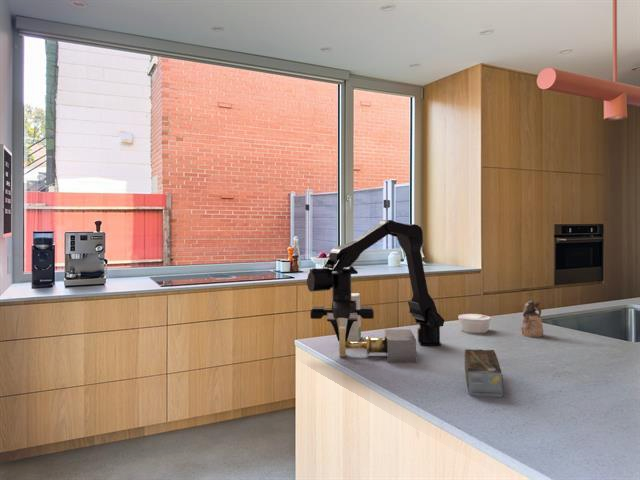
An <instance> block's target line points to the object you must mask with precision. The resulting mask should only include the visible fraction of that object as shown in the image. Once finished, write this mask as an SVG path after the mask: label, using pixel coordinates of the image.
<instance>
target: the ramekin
mask: <svg viewBox="0 0 640 480" xmlns="http://www.w3.org/2000/svg"><path fill="white" fill-rule="evenodd" d="M457 318H458V323H459V329H460V330H461V331H462V332H464V333H469V334H485V333H487V332H488V331H489V329H490V328H489V327H490V324H491V323H490V321H491V320H492V318H491V317H490V316H489V315H485V314H481V313H463V314H459V315H458V317H457Z"/></svg>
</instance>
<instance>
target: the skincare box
mask: <svg viewBox="0 0 640 480" xmlns="http://www.w3.org/2000/svg"><path fill="white" fill-rule="evenodd" d="M360 295H361V294H360V293H358V292H355V293H353V292H351V300H352V301H356V309H360V306H361V301H360V299H361V296H360ZM347 319H348V318H339V327H345V328H346V327H347ZM361 322H362V321H361V316H358V317H357V321H354V323H353V324H352V327H351V329H350V332H349V335H348V339H347V341H346V342H360V339H361V338H362V330H361V329H362V328H361V324H362V323H361Z"/></svg>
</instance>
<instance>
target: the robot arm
mask: <svg viewBox="0 0 640 480" xmlns="http://www.w3.org/2000/svg"><path fill="white" fill-rule="evenodd" d="M388 235H390V236H392V237H396V239H397V241H398V244H399V246H400V248H401V249H402V250H403V252H404V254H405V258H406V264H407V268H408V269H407V270H408V275H409V280H410V286H411V291H412V297H411V300H408V301H407V305H408V307H409V308H408V309H409V314H411V316H412V317H413V318H414V321H415V323H416V324H418V328H417V329H416V330H417V332H416V333H417V342H418V343H419V345H420V346H441V345H442V343H441V337H440V336H441V335H440V334H441V330H440V329H441V327H444V323H445V319H444V318H443V317H442V316H441V314H440V313H439V312H438V309H437V306H436V302H435V300H433V298H432V297H431V295H430V293H429V291H428V290H429V289H428V284H427V280H426V274H425V270H424V269H425V268H424V263H423V257H422V252H421V250H422V247H423V244H424V236H423V235H424V234H423V229H422V227H421V226H419V225H418V224H416V223H415V224H413V223H412V224H411V223H410V224H407V223H402V222H397V221H394V220H392V219H384V220H381V221H380V222H378V224H376V225H375V226H373V227H371V228H370V229H369V230H367V231H365V232H364V233H363V234H361V235H360V236H358V237H357V238H355V239H354V240H352V241H349V242H346V243H344V244H341V245H338V246H336V247H334V248H332V249H331V250H330V251H329V257H328V258H327V260H326V261H325V263H324V265H323V266H322V267H321V268H316V267H312V268H309V273H308V274H307V278H306V284H307V285H306V286H307V289H308V292H325V291H327V292H328V291H330V290H332V292H331V293H332V295H331V296H332V297H331V298H332V303H331V308H330V309H327V308H326V307H325V306H312V308H311V309H310V319H312V320H315V319H316V320H318V319H319V320H320V319H322V318H324V317H325V316H326V321H327V322H330V325H332V328H333V330H334V332H335V333H334V334H335V335H336V339H337V341H338V342H339V327H340V325H339V320H338V319H340V318H348V319H347V327H346V336H345V341H347V339H348V335H349V332H350V329H351V327H352V324H353V323H354V321H357V317H358V316H360V318H362V319H363V320H364V319H365V320H369V319H370V320H373V319H374V318H375V317H374V315H375V313H374V312H375V311H374V308H373V307H372V306H369V305H368V306H365V305H364V306H362V305H360V309H356V301H352V300H351V293H352V275H356V274H357V275H358V273H359V272H358V271H357V270H356V268H354V266H353V264H354V263H355V262H356V261H357V260H358V259H359V258H360V256H361V254H362V253H364V251H366V250H367V249H370V247H372V246H373V245H375V244H376V243H377V242H379V241H380V240H382V239H384V238H385V237H386V236H388ZM325 308H326V309H325Z"/></svg>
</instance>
